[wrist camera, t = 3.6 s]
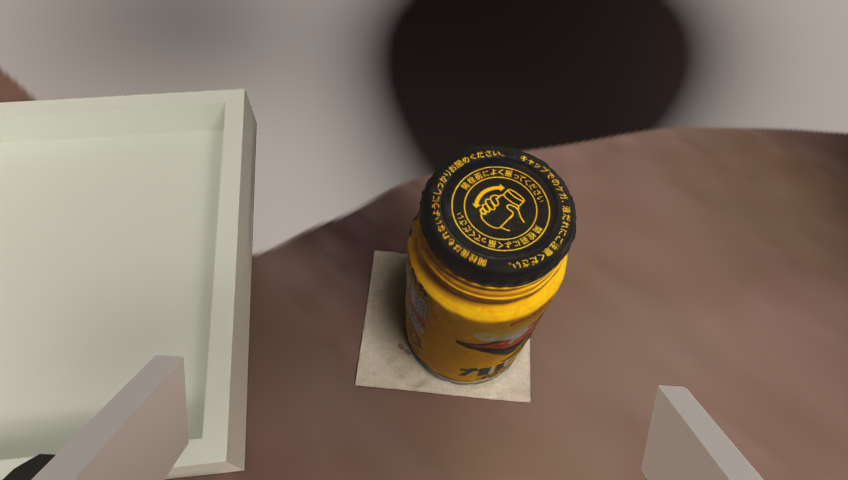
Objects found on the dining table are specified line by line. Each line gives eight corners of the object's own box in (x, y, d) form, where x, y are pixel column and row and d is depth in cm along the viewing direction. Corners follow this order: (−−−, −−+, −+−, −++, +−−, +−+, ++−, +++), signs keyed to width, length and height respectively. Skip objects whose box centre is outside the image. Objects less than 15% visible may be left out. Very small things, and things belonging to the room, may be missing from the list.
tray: (256, 123, 35) (244, 88, 32) (244, 470, 25) (226, 461, 23) (-92, 145, 33) (-135, 110, 30) (-245, 526, 24) (-326, 523, 21)
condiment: (529, 403, 27) (610, 312, 17) (355, 386, 27) (326, 284, 17) (529, 267, 31) (596, 121, 20) (374, 253, 31) (360, 100, 20)
